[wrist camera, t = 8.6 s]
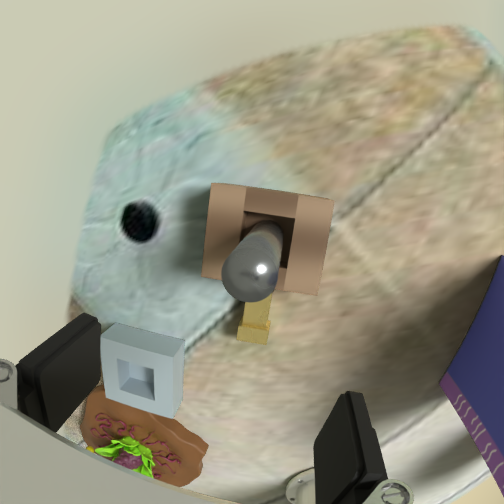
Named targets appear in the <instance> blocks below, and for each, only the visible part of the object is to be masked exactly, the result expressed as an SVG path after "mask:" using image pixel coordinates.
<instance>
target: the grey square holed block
mask: <svg viewBox="0 0 504 504" xmlns="http://www.w3.org/2000/svg"><path fill="white" fill-rule="evenodd" d="M184 350H185V340H182V339H178V338H174V337H169V336H165V335H161V334H157V333H153V332H149V331H145V330H141V329H137V328H134V327H130V326H126V325H123V324H119V323H115V324H113V325H112V326H111V327H110V328H109V329H107V330H106V331H105V332H104V333H103V334H101V344H100V353H101V363H102V372H103V380H104V387H105V394H106V398H109V399H111V400H114V401H117V402H120V403H123V404H126V405H129V406H131V407H135V408H138V409H141V410H144V411H147V412H150V413H154V414H157V415H160V416H164V417H167V418H171V419H173V418H174V416H175V414H176V412H177V410H178V408H179V406H180V404H181V402H182V400H183V373H184Z"/></svg>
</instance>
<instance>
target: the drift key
mask: <svg viewBox="0 0 504 504" xmlns="http://www.w3.org/2000/svg"><path fill="white" fill-rule="evenodd" d="M271 298H272V293H271V294H270V295H269V296H268V297H267V298H265V299H263V300H261V301H258V302H251V303H249V302H245V309H244V316H242V318H241V320H240V323H239V326H238V333H237V340H240V341H246V342H251V343H257V344H263V345H266V344H267V339H268V333H269V327H270V321H268V315H269V309H270V304H271Z"/></svg>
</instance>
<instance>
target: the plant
mask: <svg viewBox="0 0 504 504" xmlns="http://www.w3.org/2000/svg"><path fill="white" fill-rule="evenodd" d="M80 429H81V432H82V436H83V439H84V441H85V442H86V443H87V445H88V447H86V449H87V450H89V451H91V452H93V453H96V454H97V455H99V456H101V457H103V458H105V459H107V460H110V461H112V462H114V463H116V464H119V465H121V466H123V467H126V468H128V469H131V470H133V471H135V472H138V473H140V474H143V475H146V476H148V477H151V478H154V479H156V480H159V481H162V482H165V483H168V484H171V485H174V486H177V487H182V486H185V485H187V484H189V483H190V482H191V481H193V480H194V479H196V478H197V477H198V476H199V475H200V474H201V470H202V467H203V464H202V458H203V457H204V455H205V454H206V451H207V449H208V446H209V445H208V444H207V443H206V442H204V441H203V440H202V439H201V438H200V437H199V436H198V435H196V434H194V433H192V432H190V431H189V430H187V429H186V428H185V427H184V426H183V425H182V424H180V423H179V422H178V421H176V420H175V419H171V418H167V417H164V416H160V415H157V414H154V413H150V412H147V411H144V410H141V409H138V408H135V407H131V406H129V405H126V404H123V403H120V402H117V401H114V400H111V399H109V398H106V394H105V387H104V385H100V386H97V387H96V388H95V389H94V390H93V391H92V392H91V393H90V394H89V395H88V397H87V401H86V409H85V414H84V418H83V422H82V423H81V424H80Z"/></svg>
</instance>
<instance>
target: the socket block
mask: <svg viewBox="0 0 504 504" xmlns="http://www.w3.org/2000/svg"><path fill="white" fill-rule="evenodd" d="M333 207H334V201H333V200H330V199H327V198H322V197H316V196H310V195H304V194H297V193H291V192H284V191H278V190H271V189H264V188H257V187H250V186H242V185H234V184H227V183H211V191H210V199H209V207H208V216H207V225H206V234H205V243H204V252H203V262H202V273H201V277H206V278H212V279H217V280H222V278H221V271H222V266H223V264H224V262H225V260H226V258H227V257H228V256H229V255H230V254H231V253H232V251H233V250H234V249H235V248H236V247H237V246H238V245H239V243H240V242H241V241H242V240H243V239H244V238H245V237H246V235H247V234H248V233H249V232H250V231H251V230H252V229H253V227H254V226H255V225H256V224H257V223H258V222H260V221H262V220H273V221H275V222H277V223H278V224H279V225H280V226H281V228H282V230H283V244H282V251H281V259H280V266H279V273H278V280H277V284H276V287H275V289H277V290H283V291H289V292H296V293H302V294H309V295H315V296H317V294H318V289H319V285H320V280H321V275H322V269H323V264H324V259H325V254H326V248H327V243H328V237H329V231H330V226H331V220H332V214H333Z"/></svg>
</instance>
